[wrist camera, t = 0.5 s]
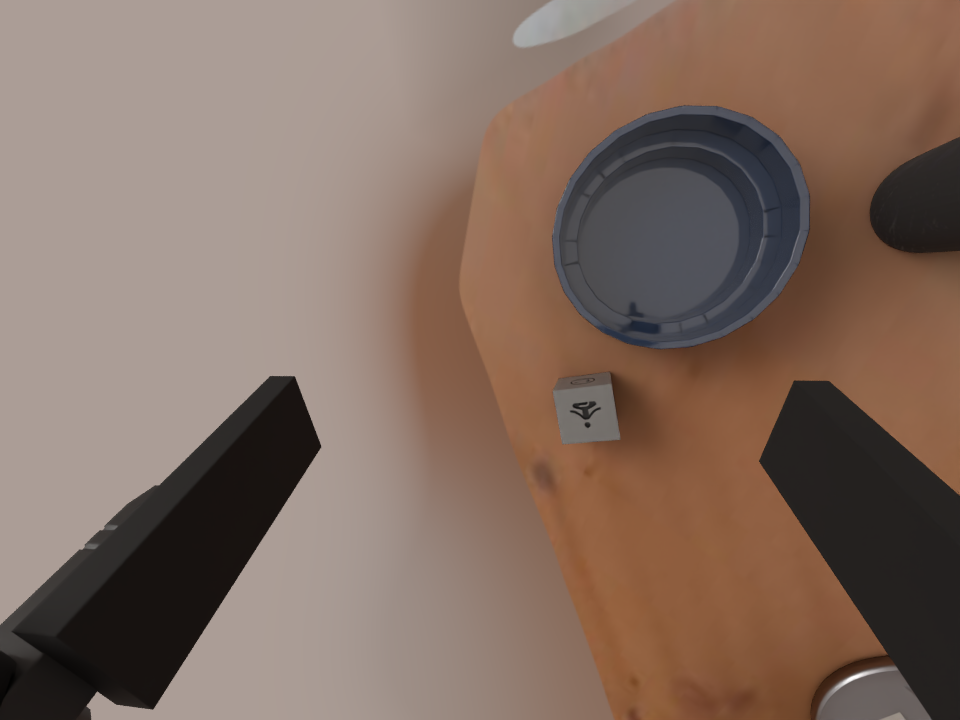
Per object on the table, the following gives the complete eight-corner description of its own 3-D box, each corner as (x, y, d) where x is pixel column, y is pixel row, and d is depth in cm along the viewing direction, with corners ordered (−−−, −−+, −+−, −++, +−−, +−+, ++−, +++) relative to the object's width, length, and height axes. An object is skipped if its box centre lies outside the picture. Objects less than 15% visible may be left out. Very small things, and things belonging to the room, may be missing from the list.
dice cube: (610, 371, 37) (611, 383, 33) (617, 421, 38) (620, 439, 33) (558, 378, 39) (552, 391, 34) (566, 425, 40) (562, 444, 35)
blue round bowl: (826, 218, 31) (877, 202, 25) (664, 376, 36) (676, 392, 30) (651, 94, 33) (662, 54, 27) (523, 262, 38) (510, 258, 32)
